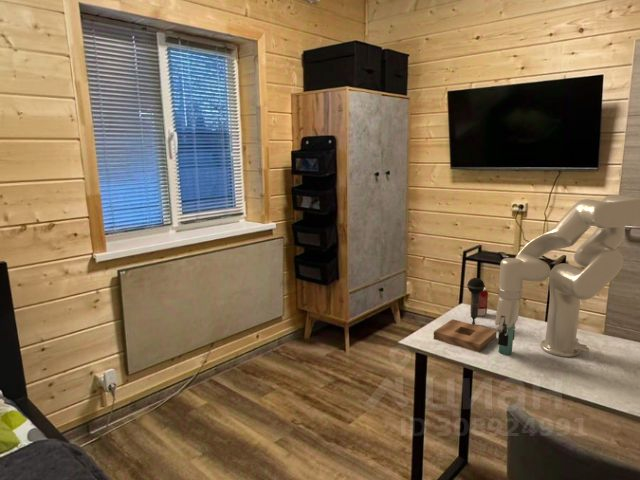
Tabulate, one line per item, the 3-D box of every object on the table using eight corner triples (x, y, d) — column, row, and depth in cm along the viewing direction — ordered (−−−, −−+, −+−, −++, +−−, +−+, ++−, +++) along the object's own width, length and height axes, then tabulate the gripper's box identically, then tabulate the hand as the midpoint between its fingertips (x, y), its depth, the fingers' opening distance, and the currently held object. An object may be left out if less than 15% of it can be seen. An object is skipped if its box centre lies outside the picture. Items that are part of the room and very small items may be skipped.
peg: (513, 352, 162) (516, 320, 160) (509, 356, 159) (511, 324, 156) (501, 348, 165) (503, 317, 163) (496, 352, 162) (499, 321, 159)
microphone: (463, 321, 191) (466, 275, 186) (480, 321, 190) (483, 275, 185) (466, 327, 184) (469, 280, 180) (483, 328, 183) (487, 280, 179)
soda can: (487, 318, 194) (489, 291, 191) (471, 317, 195) (472, 290, 192) (485, 312, 200) (487, 286, 198) (469, 311, 201) (470, 285, 199)
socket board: (496, 338, 174) (496, 330, 173) (479, 352, 162) (479, 344, 162) (452, 326, 186) (452, 319, 185) (433, 338, 174) (433, 331, 173)
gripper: (507, 285, 166) (504, 331, 170) (489, 297, 154) (486, 347, 157) (529, 289, 161) (524, 337, 165) (512, 302, 149) (508, 353, 153)
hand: (505, 341), depth 161 cm, fingers open, 5 cm apart
